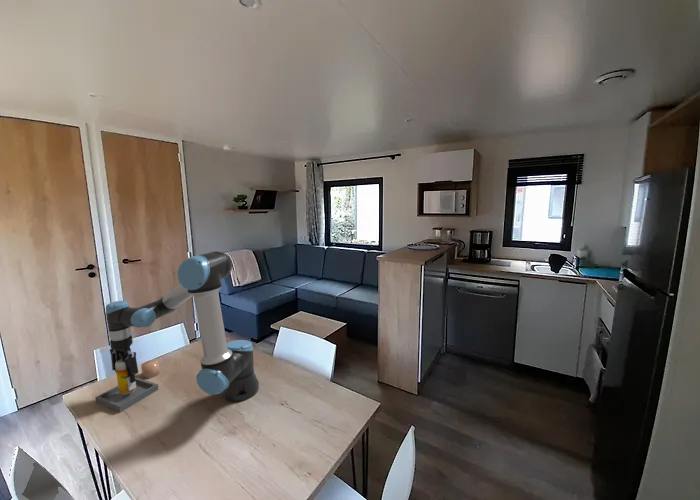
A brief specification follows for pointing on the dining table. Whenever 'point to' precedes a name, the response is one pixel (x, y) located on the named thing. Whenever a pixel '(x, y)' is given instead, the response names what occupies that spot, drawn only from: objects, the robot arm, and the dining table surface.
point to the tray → (126, 395)
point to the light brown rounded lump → (150, 369)
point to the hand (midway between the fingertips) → (127, 387)
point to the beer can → (122, 377)
